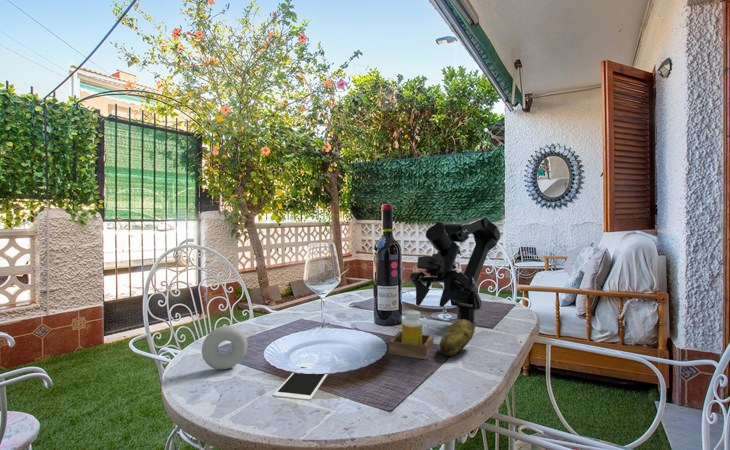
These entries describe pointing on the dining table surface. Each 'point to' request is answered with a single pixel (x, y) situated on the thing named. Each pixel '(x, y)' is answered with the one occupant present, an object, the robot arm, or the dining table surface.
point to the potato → (457, 337)
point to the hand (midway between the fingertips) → (428, 305)
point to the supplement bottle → (412, 328)
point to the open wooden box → (411, 347)
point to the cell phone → (300, 385)
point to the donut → (212, 343)
